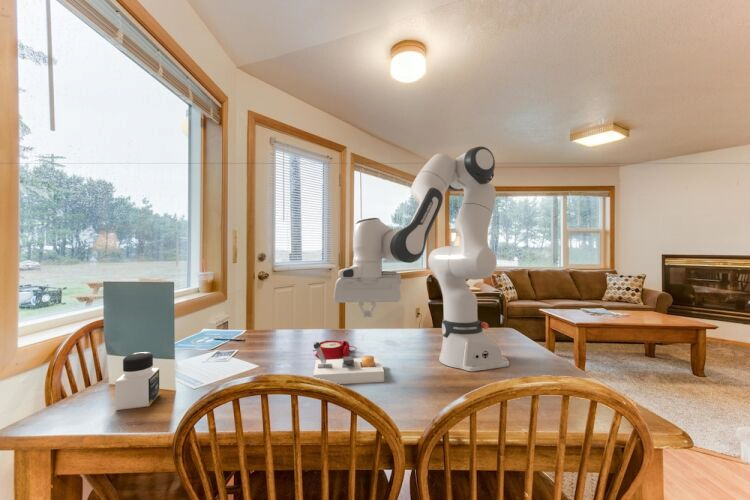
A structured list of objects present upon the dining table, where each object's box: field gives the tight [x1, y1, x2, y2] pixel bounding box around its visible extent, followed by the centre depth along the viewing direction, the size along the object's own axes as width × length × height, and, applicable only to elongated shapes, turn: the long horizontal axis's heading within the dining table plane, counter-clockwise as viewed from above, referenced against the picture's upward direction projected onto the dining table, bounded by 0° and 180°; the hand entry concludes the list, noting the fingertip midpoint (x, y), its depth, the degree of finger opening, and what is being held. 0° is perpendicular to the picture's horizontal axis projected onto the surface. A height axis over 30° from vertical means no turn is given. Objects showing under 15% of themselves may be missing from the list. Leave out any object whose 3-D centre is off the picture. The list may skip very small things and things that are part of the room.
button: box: [361, 355, 375, 368], centre depth 98 cm, size 4×4×4 cm
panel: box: [312, 356, 385, 385], centre depth 97 cm, size 20×12×3 cm, turn 97°
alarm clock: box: [312, 340, 358, 360], centre depth 117 cm, size 10×6×15 cm
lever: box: [313, 341, 327, 365], centre depth 96 cm, size 2×2×7 cm
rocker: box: [342, 355, 354, 364], centre depth 97 cm, size 3×7×1 cm, turn 7°
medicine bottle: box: [114, 351, 160, 411], centre depth 81 cm, size 7×7×12 cm
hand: (367, 316), depth 98 cm, fingers closed
